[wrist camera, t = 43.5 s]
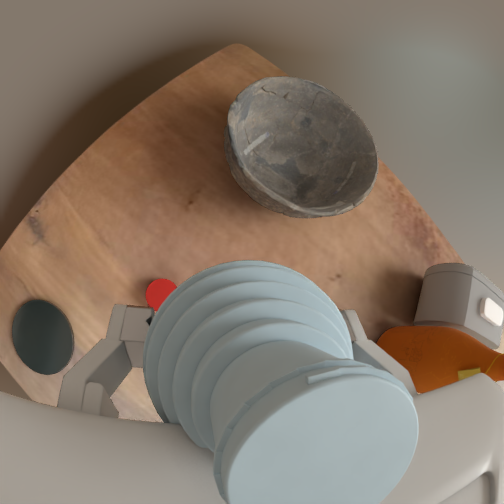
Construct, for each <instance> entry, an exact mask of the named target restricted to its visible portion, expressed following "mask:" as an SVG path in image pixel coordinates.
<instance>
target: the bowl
mask: <svg viewBox="0 0 504 504" xmlns="http://www.w3.org/2000/svg"><path fill="white" fill-rule="evenodd" d="M224 137H225V141H224V151H225V154H226V159H227V162H228V163H229V166H230V170H231V174H232V175H233V177H234V179H235V180H236V182H237V183H238V184H239V186H240V187H241V188H242V189H243V190H244V191H245V192H246V193H247V194H248V195H249V196H250V197H251V198H252V199H254V200H255V201H256V202H258V203H259V204H261V205H262V206H264V207H266V208H268V209H270V210H272V211H275V212H278V213H283V214H284V215H286V216H289V217H295V218H316V217H322V216H335V215H339V214H343V213H345V212H347V211H350V210H352V209H353V208H355V207H357V206H358V205H359V204H361V203H362V202H363V201H364V199H365V198H366V197H367V196H368V194H369V193H370V192H371V190H372V188H373V186H374V183H375V181H376V177H377V174H378V154H377V153H378V151H377V148H376V144H375V142H374V140H373V137H372V135H371V134H370V132H369V130H368V128H367V127H366V125H365V123H364V122H363V120H362V119H361V118H360V117H359V116H358V114H357V113H356V112H355V111H353V110H352V107H350V105H348V104H347V103H345V102H344V101H343V100H342V99H341V98H340V97H338V96H337V95H335V94H334V93H333V92H331V91H330V90H328V89H326V88H325V87H323V86H322V85H320V84H318V83H315V82H312V81H308V80H304V79H300V78H294V77H285V76H280V77H268V78H263V79H260V80H257V81H255V82H253V83H252V84H251V85H249V86H248V87H246V88H245V89H244V90H243V91H242V92H240V93H239V94H238V95H237V97H236V100H235V101H234V102H233V103H232V104H231V105H230V108H229V112H228V117H227V126H226V127H225V129H224Z"/></svg>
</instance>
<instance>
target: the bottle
mask: <svg viewBox="0 0 504 504" xmlns="http://www.w3.org/2000/svg"><path fill="white" fill-rule="evenodd" d="M143 372H144V378H145V383H146V386H147V390H148V393H149V395H150V398H151V400H152V402H153V405H154V407H155V409H156V410H157V412H158V414H159V416H160V417H161V419H162V420H163V422H164V423H175V424H181V425H182V427H183V429H184V431H185V432H186V433H187V435H188V436H189V437H190V439H191V440H192V441H193V442H194V443H195V444H196V445H197V446H199V447H202V448H209V449H210V450H211V451H212V452H213V453H214V461H213V475H214V479H215V482H216V485H217V488H218V491H219V494H220V496H221V497H222V499H223V500H224V501H225V502H226V503H227V504H379V503H380V502H381V501H382V500H383V499H384V498H385V497H386V496H387V495H388V494H389V493H390V492H391V491H392V490H393V489H394V487H395V486H396V485H397V484H398V482H399V481H400V480H401V478H402V477H403V475H404V473H405V472H406V470H407V468H408V466H409V464H410V462H411V460H412V457H413V455H414V452H415V449H416V445H417V440H418V432H419V423H418V416H417V412H416V409H415V406H414V404H413V398H412V396H411V395H410V393H409V392H408V390H407V389H406V387H405V386H404V383H403V382H401V381H400V380H398V379H397V378H396V377H394V376H393V375H391V374H390V373H388V372H387V371H384V370H381V369H377V368H374V367H373V366H372V365H369V364H366V363H362V362H359V361H355V360H354V358H353V350H352V343H351V338H350V334H349V331H348V328H347V325H346V323H345V321H344V319H343V316H342V314H341V313H340V311H339V310H338V308H337V307H336V305H335V304H334V302H333V301H332V300H331V299H330V298H329V297H328V295H327V294H326V293H324V292H323V291H322V290H321V289H320V288H319V287H318V286H317V285H316V284H314V283H313V282H312V281H311V280H309V279H308V278H306V277H305V276H304V275H302V274H301V273H298V272H296V271H294V270H292V269H290V268H288V267H285V266H282V265H279V264H276V263H271V262H266V261H257V260H241V261H232V262H227V263H222V264H219V265H216V266H213V267H210V268H207V269H205V270H203V271H201V272H199V273H197V274H195V275H193V276H192V277H190V278H189V279H187V280H186V281H184V282H183V283H181V284H180V285H179V286H178V287H177V288H176V289H175V290H174V291H173V292H172V293H170V295H169V296H168V297H167V298H166V299H165V301H164V302H163V303H162V304H161V306H160V307H159V309H158V311H157V312H156V314H155V315H154V317H153V319H152V322H151V324H150V326H149V329H148V332H147V335H146V339H145V343H144V350H143Z"/></svg>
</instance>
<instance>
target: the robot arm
mask: <svg viewBox="0 0 504 504" xmlns="http://www.w3.org/2000/svg"><path fill="white" fill-rule="evenodd" d="M339 311H340V313H341V314H342V316H343V319H344V321H345V323H346V325H347V328H348V331H349V334H350V338H351V343H352V350H353V358H354V360H355V361H359V362H362V363H366V364H369V365H372V366H373V367H374V368H377V369H381V370H384V371H387V372H388V373H390V374H391V375H393V376H394V377H396V378H397V379H398V380H400V381H401V382H403V383H404V386H405V387H406V389H407V390H408V392H409V393H410V395H411V396H412V398H413V404H414V406H415V409H416V412H417V416H418V423H419V432H418V440H417V445H416V449H415V452H414V455H413V457H412V460H411V462H410V464H409V466H408V468H407V470H406V472H405V473H404V475H403V477H402V478H401V480H400V481H399V482H398V484H397V485H396V486H395V487H394V489H393V490H392V491H391V492H390V493H389V494H388V495H387V496H386V497H385V498H384V499H383V500H382V501H381V502H380V503H379V504H504V391H503V390H502V388H501V387H500V386H499V385H498V384H497V383H496V382H495V381H493V380H492V379H491V378H490V377H489V376H487V375H486V374H484V373H478V374H475V375H473V376H470V377H468V378H465V379H463V380H460V381H457V382H455V383H452V384H449V385H446V386H443V387H440V388H437V389H434V390H431V391H428V392H425V393H422V394H417V391H416V389H415V386H414V384H413V381H412V379H411V377H410V374H409V372H408V370H406V369H405V368H404V367H403V366H402V365H400V364H399V363H398V362H397V361H396V360H395V359H393V358H392V357H391V356H390V355H388V354H387V353H386V352H385V351H384V350H382V349H381V348H380V347H379V346H378V345H376V344H375V343H374V342H373V341H372V340H368V339H367V337H366V334H365V332H364V330H363V327H362V325H361V323H360V320H359V318H358V316H357V314H356V311H354V310H339ZM154 315H155V312H154V308H153V307H144V306H134V305H123V304H115V305H114V307H113V310H112V314H111V318H110V322H109V326H108V330H107V335H106V339H101V340H100V341H99V342H98V343H97V344H96V345H95V346H94V347H93V348H92V349H91V350H90V351H89V352H88V353H87V354H86V355H85V356H84V357H83V358H82V359H81V360H79V361H78V362H77V363H76V364H75V365H74V366H73V367H72V368H71V369H70V370H69V371H68V372H67V373H66V374H65V375H64V377H63V381H62V385H61V390H60V395H59V399H58V404H57V407H54V406H50V405H46V404H42V403H39V402H35V401H31V400H28V399H24V398H21V397H17V396H14V395H11V394H8V393H5V392H2V391H0V504H227V503H226V502H225V501H224V500H223V499H222V497H221V496H220V494H219V491H218V488H217V485H216V482H215V479H214V475H213V461H214V453H213V452H212V451H211V450H210V449H209V448H202V447H199V446H197V445H196V444H195V443H194V442H193V441H192V440H191V439H190V437H189V436H188V435H187V433H186V432H185V431H184V429H183V427H182V425H181V424H175V423H161V422H148V421H138V420H129V419H120V418H118V415H119V412H118V410H117V409H116V407H115V406H114V404H113V402H112V401H111V399H110V397H111V395H112V394H113V393H114V392H115V390H116V389H117V388H118V386H119V385H120V384H121V382H122V381H123V380H124V378H125V377H126V376H127V374H128V373H129V372H130V371H131V369H132V367H139V368H143V350H144V343H145V339H146V335H147V332H148V329H149V326H150V324H151V322H152V319H153V317H154Z"/></svg>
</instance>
